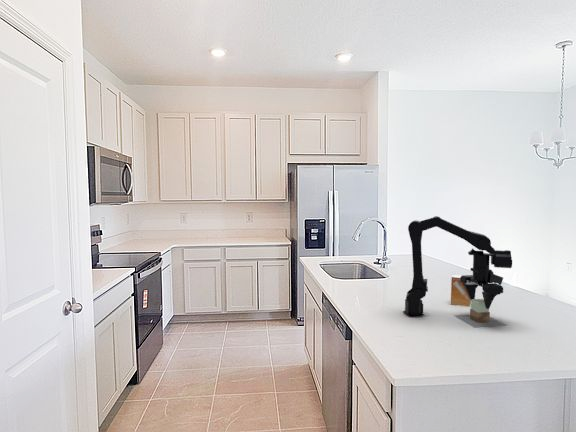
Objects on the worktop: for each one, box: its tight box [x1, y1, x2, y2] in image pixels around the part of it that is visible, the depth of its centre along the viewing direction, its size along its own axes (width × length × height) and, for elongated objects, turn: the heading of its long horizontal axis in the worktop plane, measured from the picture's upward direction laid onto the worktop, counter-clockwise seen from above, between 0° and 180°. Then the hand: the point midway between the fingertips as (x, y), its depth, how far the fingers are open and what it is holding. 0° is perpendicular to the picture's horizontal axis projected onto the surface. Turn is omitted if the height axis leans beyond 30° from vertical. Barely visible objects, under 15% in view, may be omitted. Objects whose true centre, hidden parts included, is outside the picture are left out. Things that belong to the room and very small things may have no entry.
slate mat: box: [453, 314, 509, 329], centre depth 148 cm, size 14×14×1 cm
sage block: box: [470, 298, 490, 313], centre depth 147 cm, size 4×4×4 cm
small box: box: [450, 274, 471, 307], centre depth 170 cm, size 8×6×13 cm
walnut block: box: [469, 308, 491, 323], centre depth 148 cm, size 5×5×4 cm
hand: (479, 305), depth 147 cm, fingers open, 9 cm apart
